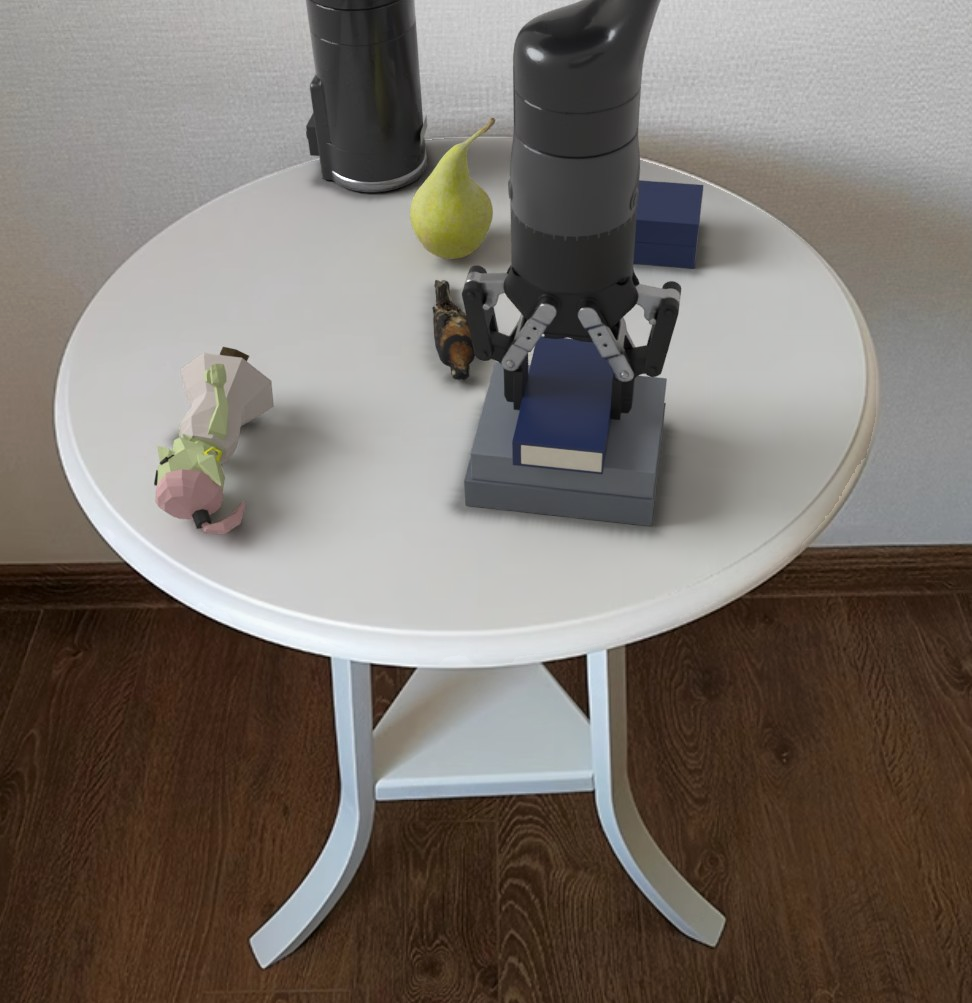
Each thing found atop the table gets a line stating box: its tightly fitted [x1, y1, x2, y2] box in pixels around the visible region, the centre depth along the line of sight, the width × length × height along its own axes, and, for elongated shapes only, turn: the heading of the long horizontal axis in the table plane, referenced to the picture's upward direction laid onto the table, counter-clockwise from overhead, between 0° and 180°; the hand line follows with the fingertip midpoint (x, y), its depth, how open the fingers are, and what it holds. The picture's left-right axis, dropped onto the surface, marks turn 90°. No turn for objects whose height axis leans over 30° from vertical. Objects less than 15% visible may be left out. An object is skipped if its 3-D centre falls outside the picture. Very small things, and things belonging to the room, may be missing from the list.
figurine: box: [153, 346, 275, 535], centre depth 88 cm, size 9×7×15 cm
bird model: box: [431, 279, 476, 381], centre depth 99 cm, size 3×14×3 cm, turn 5°
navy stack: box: [633, 179, 704, 269], centre depth 107 cm, size 6×11×4 cm, turn 80°
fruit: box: [409, 117, 496, 260], centre depth 104 cm, size 7×8×12 cm
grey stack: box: [463, 361, 668, 527], centre depth 88 cm, size 13×10×5 cm
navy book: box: [512, 335, 613, 475], centre depth 85 cm, size 6×11×2 cm, turn 170°
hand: (568, 406), depth 85 cm, fingers closed on navy book, 6 cm apart
